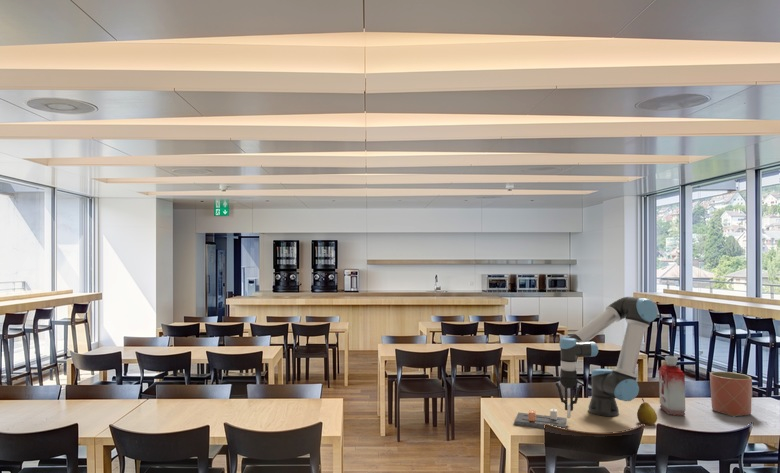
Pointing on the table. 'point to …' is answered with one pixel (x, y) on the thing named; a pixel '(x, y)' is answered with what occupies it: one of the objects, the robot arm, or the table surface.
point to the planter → (731, 393)
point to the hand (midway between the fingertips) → (569, 417)
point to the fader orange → (532, 415)
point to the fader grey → (553, 414)
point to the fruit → (646, 414)
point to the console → (539, 421)
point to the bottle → (672, 387)
